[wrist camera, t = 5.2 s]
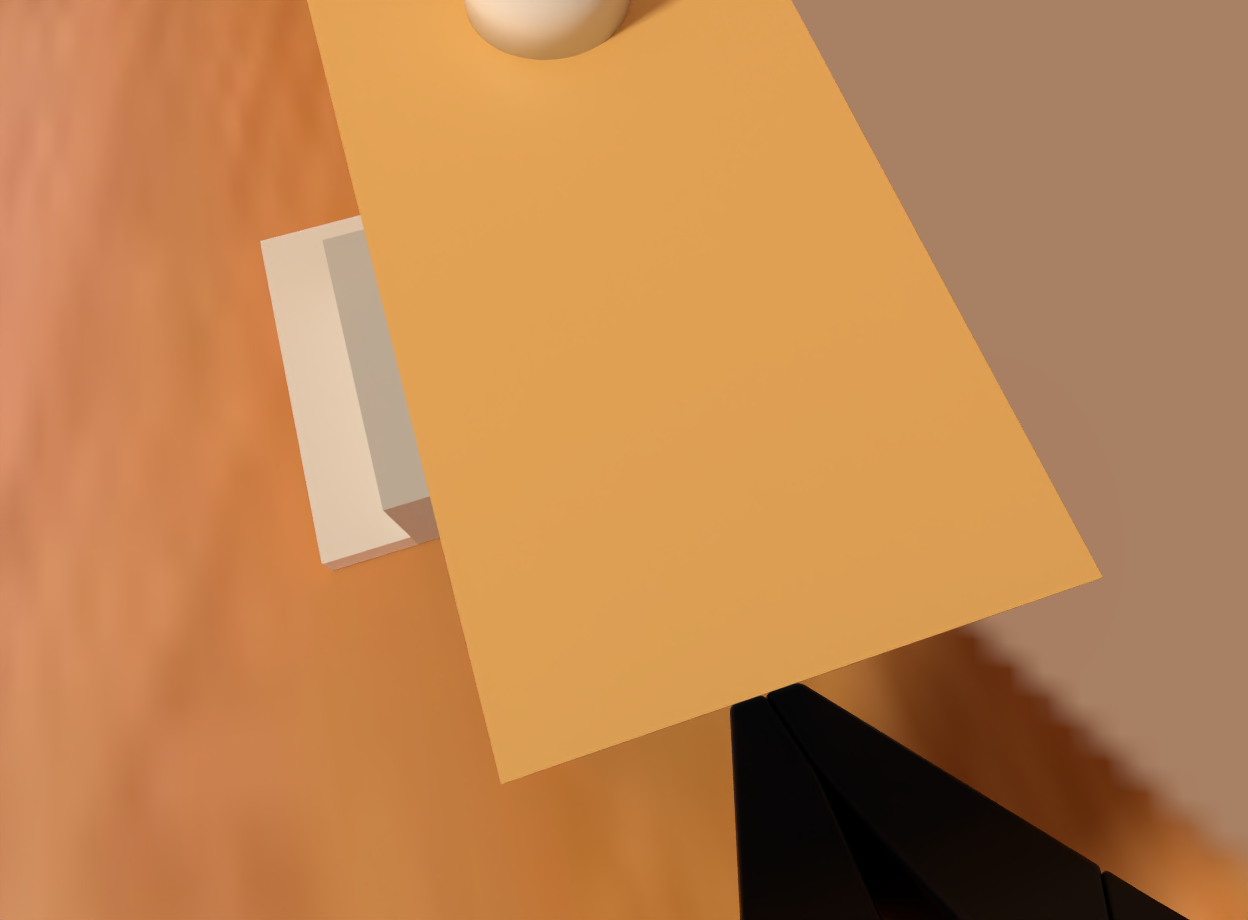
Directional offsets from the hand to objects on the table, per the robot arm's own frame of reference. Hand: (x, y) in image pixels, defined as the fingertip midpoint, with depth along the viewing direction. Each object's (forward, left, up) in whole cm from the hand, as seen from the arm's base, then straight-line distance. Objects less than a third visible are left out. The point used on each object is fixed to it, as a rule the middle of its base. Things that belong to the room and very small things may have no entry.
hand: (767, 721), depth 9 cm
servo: (+4, -3, -7) cm, 8 cm away
